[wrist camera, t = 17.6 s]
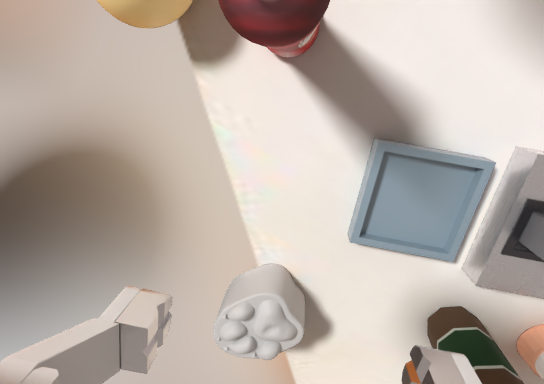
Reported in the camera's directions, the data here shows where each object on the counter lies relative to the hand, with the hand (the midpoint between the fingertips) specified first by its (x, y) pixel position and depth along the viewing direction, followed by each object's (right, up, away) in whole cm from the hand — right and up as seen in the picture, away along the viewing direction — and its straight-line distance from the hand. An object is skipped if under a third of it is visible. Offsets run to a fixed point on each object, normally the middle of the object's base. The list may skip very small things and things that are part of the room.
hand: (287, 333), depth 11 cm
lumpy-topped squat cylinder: (-2, -12, +41) cm, 42 cm away
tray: (+18, +4, +32) cm, 37 cm away
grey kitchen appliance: (+33, +1, +31) cm, 46 cm away
